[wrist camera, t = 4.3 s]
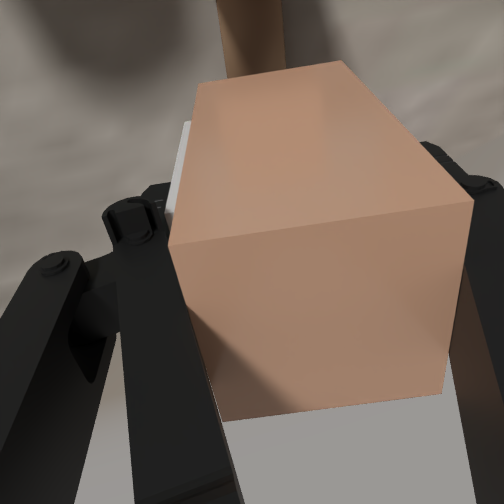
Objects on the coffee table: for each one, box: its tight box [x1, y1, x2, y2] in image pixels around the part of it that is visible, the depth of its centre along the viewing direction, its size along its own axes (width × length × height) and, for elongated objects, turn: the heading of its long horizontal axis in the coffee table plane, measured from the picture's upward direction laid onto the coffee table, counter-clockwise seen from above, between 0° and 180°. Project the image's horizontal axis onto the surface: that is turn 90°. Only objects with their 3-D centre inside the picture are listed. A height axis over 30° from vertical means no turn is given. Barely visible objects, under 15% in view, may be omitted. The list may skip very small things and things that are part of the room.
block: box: [168, 60, 474, 422], centre depth 13 cm, size 5×5×10 cm
